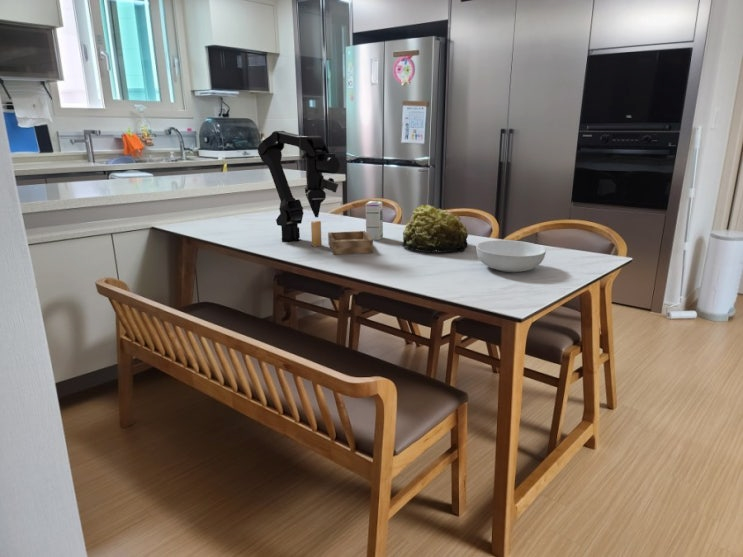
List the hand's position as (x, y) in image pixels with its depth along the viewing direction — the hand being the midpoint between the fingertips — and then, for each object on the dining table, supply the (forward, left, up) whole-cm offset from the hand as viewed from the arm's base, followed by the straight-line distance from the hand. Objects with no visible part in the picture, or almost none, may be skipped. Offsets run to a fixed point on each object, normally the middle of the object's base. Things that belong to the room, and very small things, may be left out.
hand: (315, 215), depth 189 cm
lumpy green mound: (+42, -11, -12) cm, 45 cm away
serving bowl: (+57, -44, -12) cm, 73 cm away
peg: (0, 0, -12) cm, 12 cm away
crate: (+12, -7, -12) cm, 18 cm away
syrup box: (+24, +8, -12) cm, 28 cm away
